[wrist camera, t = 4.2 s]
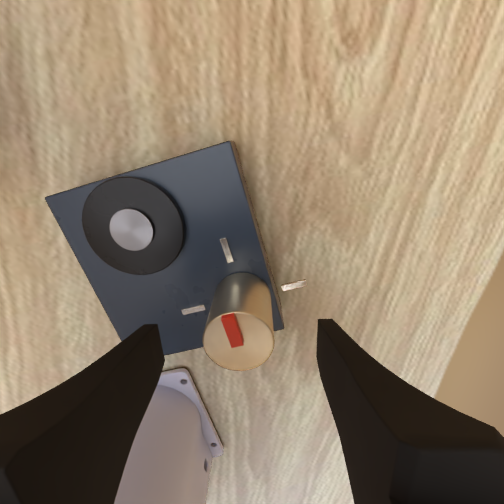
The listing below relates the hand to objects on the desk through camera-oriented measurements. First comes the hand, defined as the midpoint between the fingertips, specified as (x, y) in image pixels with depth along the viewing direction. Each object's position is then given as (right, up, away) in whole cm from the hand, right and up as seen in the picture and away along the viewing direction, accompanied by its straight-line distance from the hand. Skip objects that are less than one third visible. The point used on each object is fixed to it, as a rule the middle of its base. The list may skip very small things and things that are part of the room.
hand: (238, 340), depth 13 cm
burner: (-5, +5, +2) cm, 8 cm away
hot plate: (-3, +4, +5) cm, 7 cm away
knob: (0, +1, +4) cm, 4 cm away
